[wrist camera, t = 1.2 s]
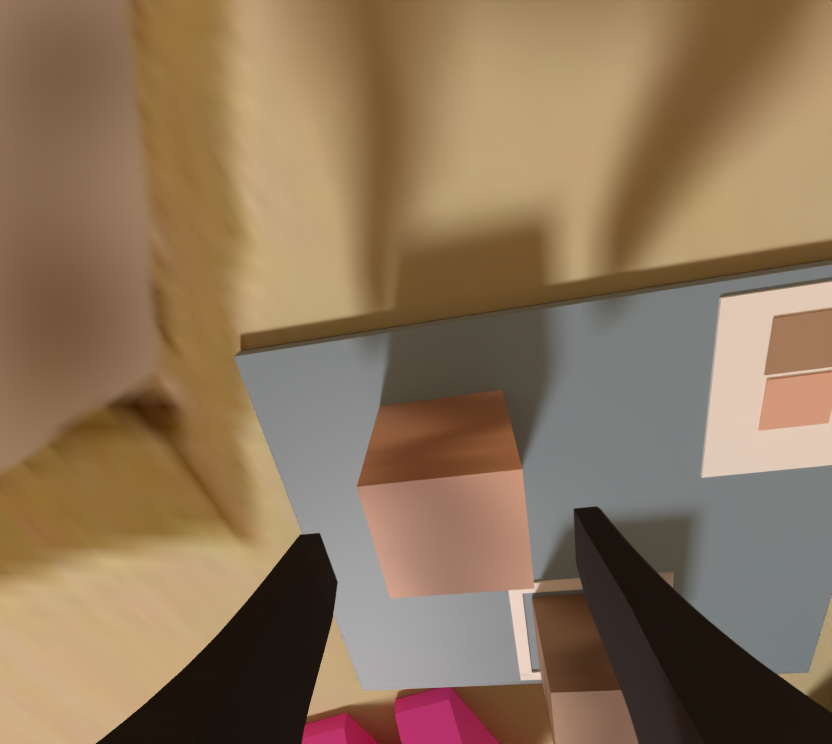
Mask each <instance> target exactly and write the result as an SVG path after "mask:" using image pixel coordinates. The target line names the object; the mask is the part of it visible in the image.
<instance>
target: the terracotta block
mask: <svg viewBox="0 0 832 744" xmlns="http://www.w3.org/2000/svg"><path fill="white" fill-rule="evenodd" d="M357 490H358V493H359V496H360V500H361V503H362V506H363V510H364V513H365V516H366V520H367V523H368V526H369V530H370V533H371V536H372V540H373V543H374V546H375V550H376V553H377V556H378V560H379V563H380V566H381V570H382V573H383V576H384V580H385V583H386V586H387V590H388V593H389V596H390V599H391V598H406V597H420V596H434V595H449V594H463V593H478V592H492V591H506V590H521V589H534V579H533V569H532V559H531V549H530V539H529V530H528V520H527V510H526V500H525V490H524V480H523V470H522V466H521V462H520V458H519V454H518V450H517V446H516V442H515V438H514V434H513V430H512V426H511V422H510V418H509V414H508V410H507V406H506V402H505V398H504V394H503V390H498V391H491V392H483V393H475V394H468V395H460V396H452V397H445V398H437V399H429V400H422V401H414V402H407V403H399V404H391V405H384V406H379V409H378V413H377V417H376V420H375V424H374V427H373V431H372V434H371V438H370V441H369V445H368V448H367V452H366V455H365V459H364V463H363V466H362V470H361V473H360V477H359V480H358V484H357Z"/></svg>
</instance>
